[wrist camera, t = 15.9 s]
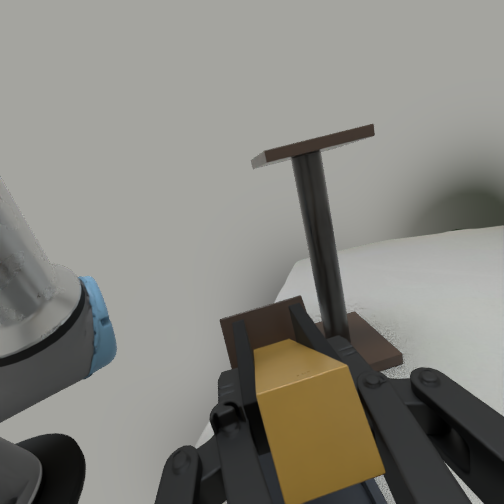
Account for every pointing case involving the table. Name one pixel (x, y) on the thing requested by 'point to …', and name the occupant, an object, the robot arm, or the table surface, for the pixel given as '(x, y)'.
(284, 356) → the mallet
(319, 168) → the pedestal stand
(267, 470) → the tray
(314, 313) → the table surface
